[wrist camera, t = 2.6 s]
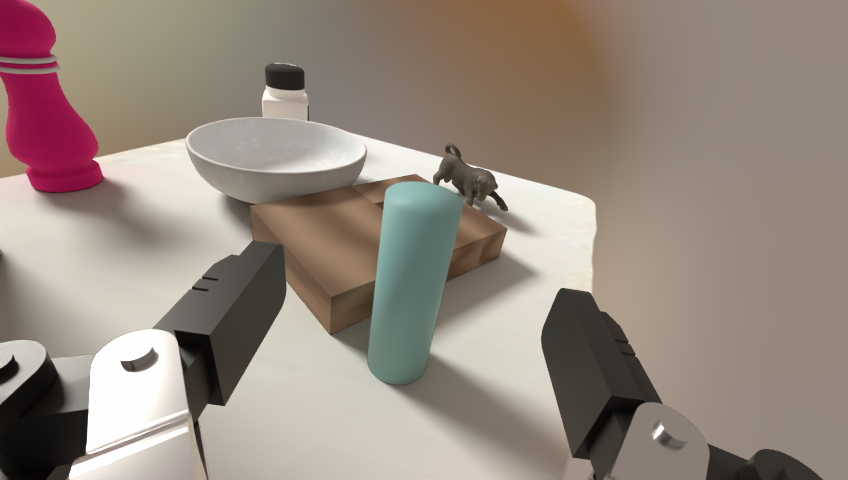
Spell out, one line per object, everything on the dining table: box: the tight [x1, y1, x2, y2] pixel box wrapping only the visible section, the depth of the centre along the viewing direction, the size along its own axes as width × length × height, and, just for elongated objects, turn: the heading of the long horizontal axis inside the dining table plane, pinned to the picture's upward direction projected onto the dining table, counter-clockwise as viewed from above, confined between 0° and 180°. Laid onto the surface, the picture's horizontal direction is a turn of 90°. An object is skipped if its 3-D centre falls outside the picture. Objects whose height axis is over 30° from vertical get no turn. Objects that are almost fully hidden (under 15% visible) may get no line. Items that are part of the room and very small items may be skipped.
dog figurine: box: [433, 143, 508, 211], centre depth 53 cm, size 12×6×7 cm, turn 39°
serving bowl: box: [186, 117, 367, 204], centre depth 49 cm, size 21×21×7 cm
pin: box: [367, 181, 463, 385], centre depth 25 cm, size 5×5×14 cm
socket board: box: [250, 174, 508, 334], centre depth 41 cm, size 22×16×4 cm
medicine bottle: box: [262, 63, 309, 121], centre depth 64 cm, size 7×7×12 cm
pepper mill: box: [0, 0, 103, 192], centre depth 38 cm, size 7×7×20 cm
